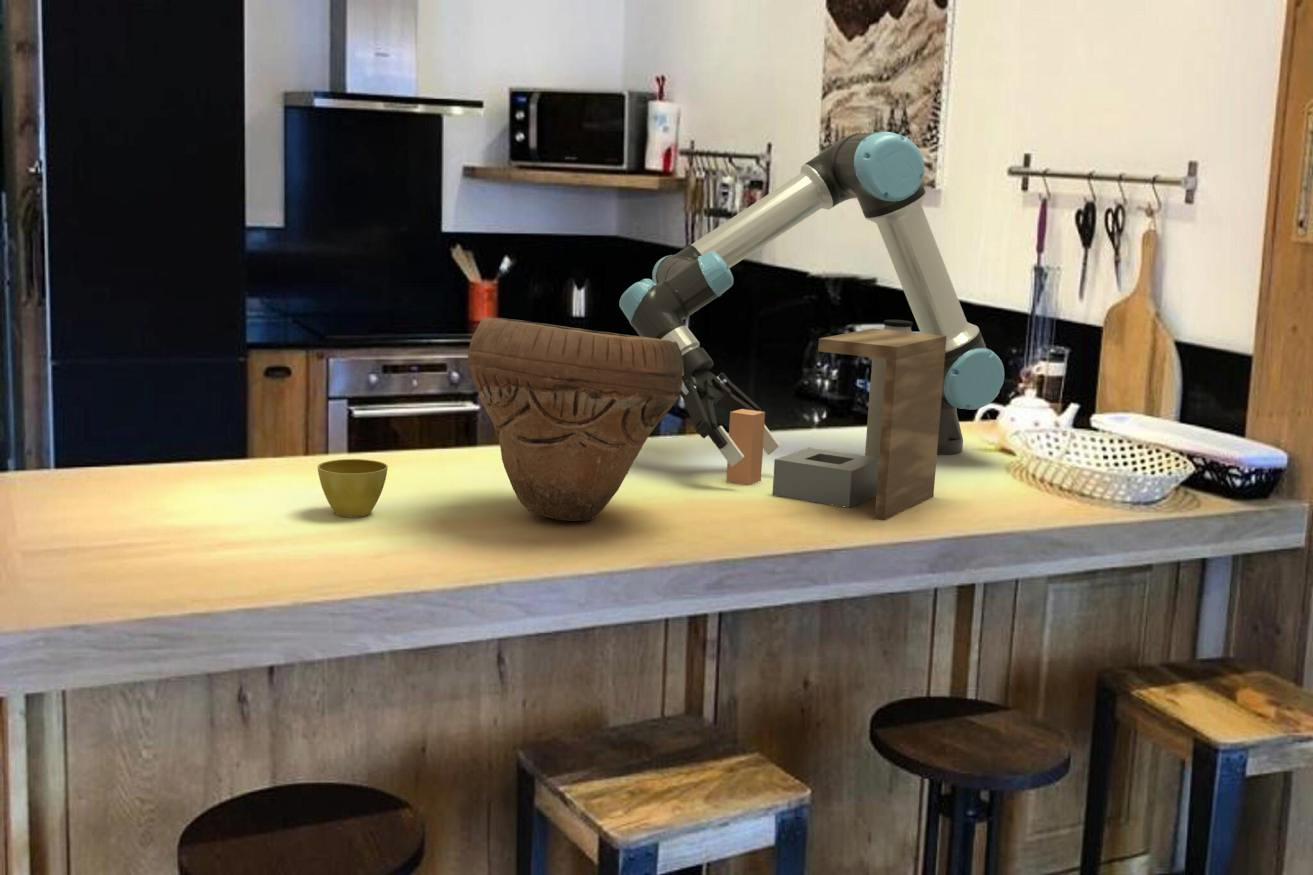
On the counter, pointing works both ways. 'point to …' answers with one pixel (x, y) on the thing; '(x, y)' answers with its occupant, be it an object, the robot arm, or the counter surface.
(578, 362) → the pot
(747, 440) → the peg
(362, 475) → the flower pot
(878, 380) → the thermos bottle
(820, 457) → the socket
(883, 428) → the wooden l-shaped bracket
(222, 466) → the counter surface
